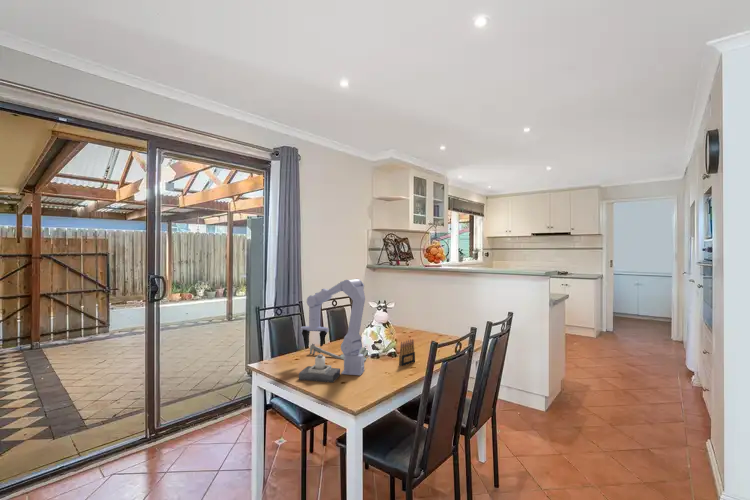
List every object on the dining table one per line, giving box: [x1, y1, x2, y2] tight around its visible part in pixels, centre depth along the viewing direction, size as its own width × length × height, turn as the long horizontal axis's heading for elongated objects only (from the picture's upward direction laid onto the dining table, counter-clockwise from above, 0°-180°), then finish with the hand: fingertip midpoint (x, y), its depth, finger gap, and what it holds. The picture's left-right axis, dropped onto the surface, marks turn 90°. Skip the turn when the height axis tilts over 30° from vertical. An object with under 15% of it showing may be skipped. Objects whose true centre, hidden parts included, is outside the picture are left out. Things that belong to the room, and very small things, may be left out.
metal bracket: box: [339, 345, 369, 362], centre depth 195 cm, size 14×6×15 cm
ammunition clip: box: [398, 338, 416, 367], centre depth 184 cm, size 11×2×12 cm, turn 135°
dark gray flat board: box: [298, 364, 341, 384], centre depth 162 cm, size 16×10×4 cm, turn 78°
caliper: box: [309, 342, 342, 360], centre depth 196 cm, size 20×1×6 cm, turn 63°
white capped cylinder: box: [314, 353, 326, 370], centre depth 163 cm, size 4×4×7 cm
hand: (314, 345), depth 182 cm, fingers open, 7 cm apart
